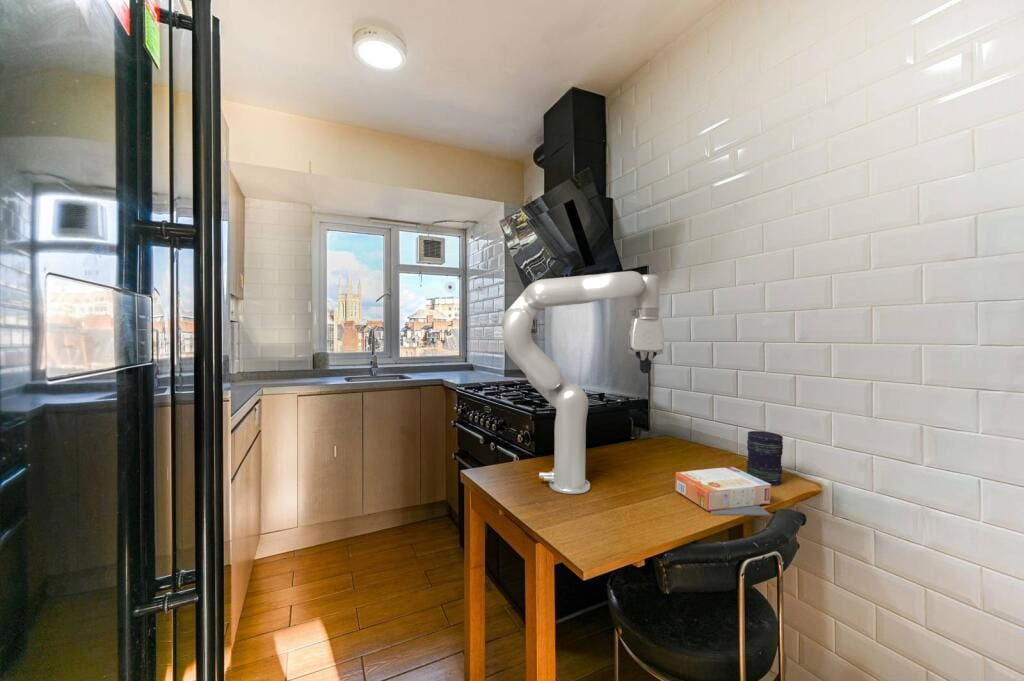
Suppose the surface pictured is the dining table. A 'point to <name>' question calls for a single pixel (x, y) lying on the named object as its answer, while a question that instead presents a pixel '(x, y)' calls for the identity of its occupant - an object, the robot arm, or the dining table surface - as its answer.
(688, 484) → the cracker box
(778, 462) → the storage jar
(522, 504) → the dining table surface
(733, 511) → the mat
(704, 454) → the dining table surface
